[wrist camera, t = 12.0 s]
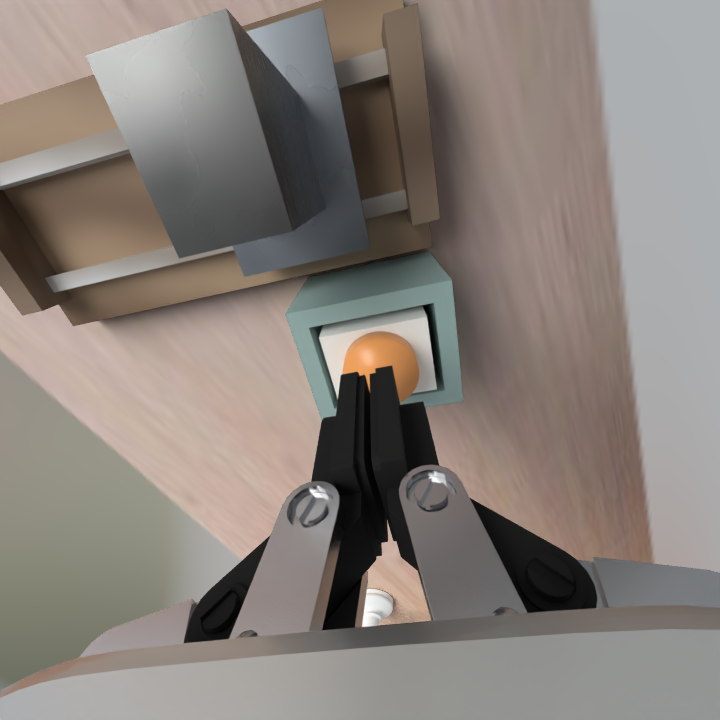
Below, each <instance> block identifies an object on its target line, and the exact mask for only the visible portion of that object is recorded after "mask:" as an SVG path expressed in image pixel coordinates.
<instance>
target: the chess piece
mask: <svg viewBox="0 0 720 720" xmlns="http://www.w3.org/2000/svg"><path fill="white" fill-rule="evenodd" d="M392 610H393V599H392V597H391V596H390V595H389V594H388V593H386V592H384V591H382V590H378V589H371V588H367V592H366V599H365V607H364V615H363V622H362V627H368V626H378V623H379V622H380V621H381V619H384V618H386V617H387V616H389V615H390V614H391V612H392Z"/></svg>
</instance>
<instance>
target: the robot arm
mask: <svg viewBox="0 0 720 720" xmlns="http://www.w3.org/2000/svg"><path fill="white" fill-rule="evenodd" d="M375 372H376V373H372V374H370V391H369V387H368V384H367V380H366V376H365V375H361V376H359V373H358V372H353V373H347V374H342V375H341V377H340V386H339V394H338V402H337V410H336V416H331V417H325V418H323V419H322V423H321V429H320V434H319V440H318V446H317V452H316V458H315V463H314V469H313V475H312V481H311V482H309V483H306V484H304V485H301V486H300V487H298V488H297V489H295V490H294V491H293V492H292V493H291V494H290V495H289V496H288V497H287V499H286V500H285V502H284V504H283V506H282V508H281V511H280V513H279V516H278V518H277V521H276V523H275V526H274V528H273V531H272V533H271V535H270V536H269V537H268V538H267V539H266V540H265V541H264V542H262V543H261V544H260V545H259V546H258V547H257V548H256V549H255V550H253V551H252V552H251V553H250V554H249V555H248V556H247V557H246V558H245V559H243V560H242V561H241V562H240V563H239V564H238V565H237V566H236V567H235V568H234V569H232V570H231V571H230V572H229V573H228V574H227V575H226V576H224V577H223V578H222V579H221V580H220V581H219V582H218V583H217V584H216V585H215V586H213V587H212V588H211V589H210V590H209V591H208V592H207V593H206V595H204V597H203V598H202V599H201V600H200V601H199V602H195V601H194V600H193V599H191V600H188V601H185V602H183V603H180V604H177V605H174V606H172V607H169V608H166V609H163V610H161V611H158V612H155V613H152V614H150V615H147V616H144V617H141V618H138V619H136V620H133V621H130V622H127V623H125V624H122V625H119V626H116V627H114V628H112V629H110V630H108V631H106V632H104V633H102V634H101V635H100V636H99V637H98V638H97V639H95V640H94V641H93V642H92V643H91V644H90V645H89V646H88V647H87V649H86V650H85V651H84V652H83V653H82V655H81V656H80V657H79V658H78V659H75V660H71V661H68V662H64V663H60V664H58V665H55V666H52V667H50V668H47V669H44V670H42V671H39V672H37V673H35V674H33V675H30V676H28V677H26V678H24V679H22V680H20V681H18V682H16V683H14V684H12V685H10V686H8V687H6V688H4V689H3V690H1V691H0V720H720V573H718V572H714V571H710V570H703V569H694V568H686V567H677V566H668V565H659V564H651V563H642V562H633V561H625V560H616V559H607V558H598V557H593V562H590V561H582V560H576V559H575V558H574V557H572V556H571V555H569V554H568V553H567V552H565V551H563V550H562V549H560V548H558V547H556V546H555V545H553V544H551V543H549V542H547V541H546V540H544V539H542V538H540V537H538V536H537V535H535V534H533V533H531V532H530V531H528V530H526V529H524V528H522V527H521V526H519V525H517V524H515V523H514V522H512V521H510V520H508V519H506V518H505V517H503V516H501V515H499V514H497V513H496V512H494V511H492V510H490V509H489V508H487V507H485V506H483V505H481V504H480V503H478V502H476V501H474V500H472V499H471V498H469V496H468V494H467V492H466V490H465V488H464V486H463V484H462V482H461V480H460V479H459V478H458V476H457V475H456V474H455V473H454V472H452V471H451V470H449V469H448V468H445V467H442V466H439V463H438V459H437V455H436V451H435V446H434V442H433V438H432V434H431V430H430V426H429V422H428V418H427V414H426V410H425V406H424V402H423V401H421V402H415V403H409V404H403V405H400V401H399V396H398V391H397V386H396V381H395V376H394V372H393V367H392V365H391V366H386V367H380V368H376V369H375ZM387 520H388V524H389V527H390V531H391V534H392V538H393V541H397V544H398V548H399V552H400V555H401V557H402V558H403V559H404V560H405V561H407V562H408V563H409V564H410V565H411V566H413V567H414V568H415V569H416V570H417V571H418V574H419V578H420V581H421V585H422V589H423V592H424V596H425V600H426V603H427V607H428V610H429V614H430V618H431V621H426V622H414V623H402V624H391V625H380V626H368V627H362V622H363V615H364V607H365V599H366V592H367V584H368V571H367V570H368V569H369V568H370V566H371V565H372V564H373V563H374V562H375V561H376V556H382V548H381V543H382V542H388V530H387Z"/></svg>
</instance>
